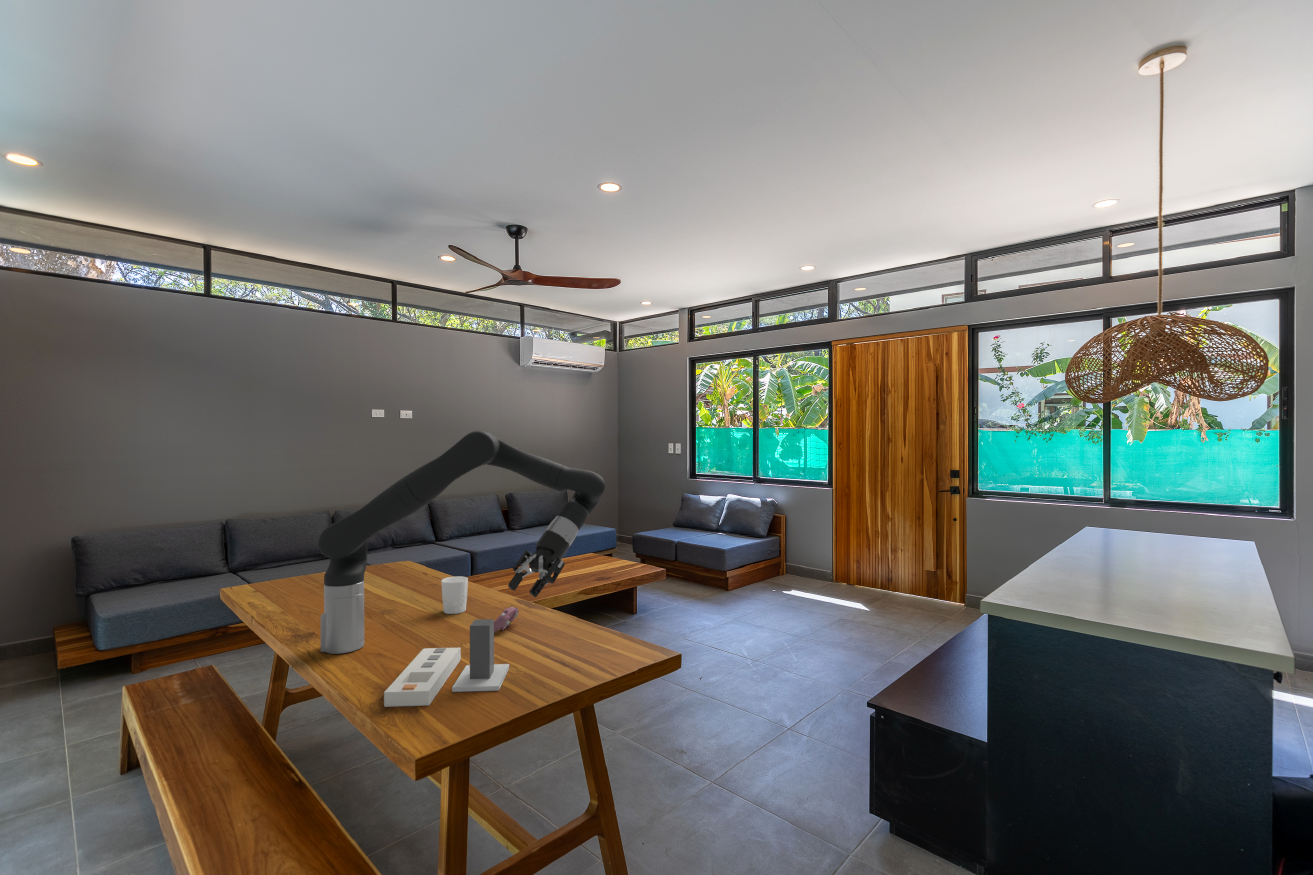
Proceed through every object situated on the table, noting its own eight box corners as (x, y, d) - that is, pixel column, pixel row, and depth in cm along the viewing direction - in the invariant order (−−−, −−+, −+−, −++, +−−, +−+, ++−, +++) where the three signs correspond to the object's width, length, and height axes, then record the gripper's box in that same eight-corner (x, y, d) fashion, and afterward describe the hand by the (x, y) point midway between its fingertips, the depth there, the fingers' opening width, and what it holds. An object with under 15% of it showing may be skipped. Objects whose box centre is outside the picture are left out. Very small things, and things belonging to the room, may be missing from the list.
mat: (452, 691, 125) (452, 687, 125) (466, 669, 137) (466, 664, 137) (498, 690, 126) (498, 685, 126) (509, 668, 138) (509, 663, 138)
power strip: (384, 706, 118) (384, 690, 118) (423, 660, 142) (423, 646, 142) (429, 705, 119) (429, 688, 119) (460, 659, 143) (460, 645, 143)
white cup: (452, 616, 176) (452, 583, 176) (436, 612, 181) (436, 580, 181) (473, 609, 183) (473, 578, 183) (456, 605, 187) (456, 575, 187)
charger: (469, 679, 129) (469, 625, 129) (474, 670, 134) (474, 619, 133) (489, 678, 129) (489, 625, 129) (493, 670, 134) (493, 619, 134)
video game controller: (499, 639, 161) (509, 618, 160) (485, 631, 162) (495, 609, 161) (514, 627, 171) (523, 607, 170) (501, 620, 172) (511, 599, 171)
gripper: (532, 526, 151) (494, 578, 142) (568, 532, 141) (530, 588, 133) (548, 543, 155) (512, 595, 146) (584, 550, 146) (548, 605, 137)
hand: (521, 591), depth 139 cm, fingers open, 8 cm apart
